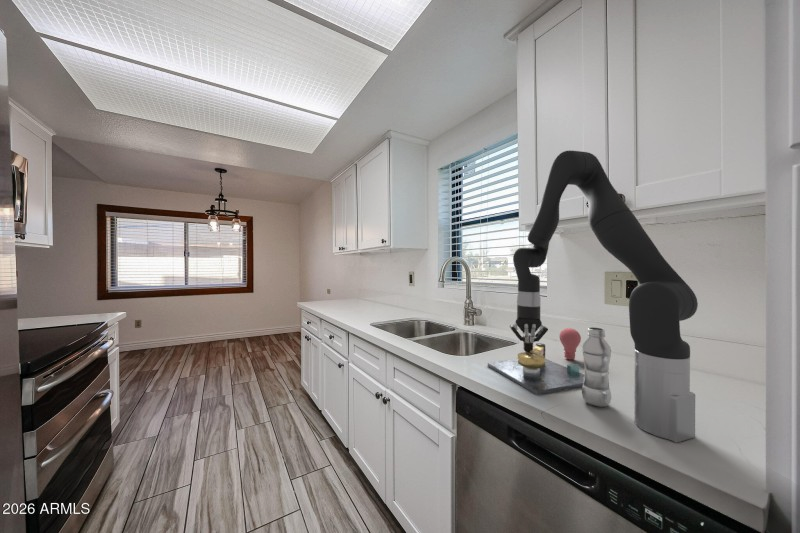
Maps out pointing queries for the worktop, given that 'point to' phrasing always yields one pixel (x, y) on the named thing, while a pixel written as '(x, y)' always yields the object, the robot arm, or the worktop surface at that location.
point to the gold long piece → (533, 357)
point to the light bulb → (570, 342)
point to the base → (541, 376)
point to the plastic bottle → (596, 368)
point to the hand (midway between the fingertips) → (528, 352)
